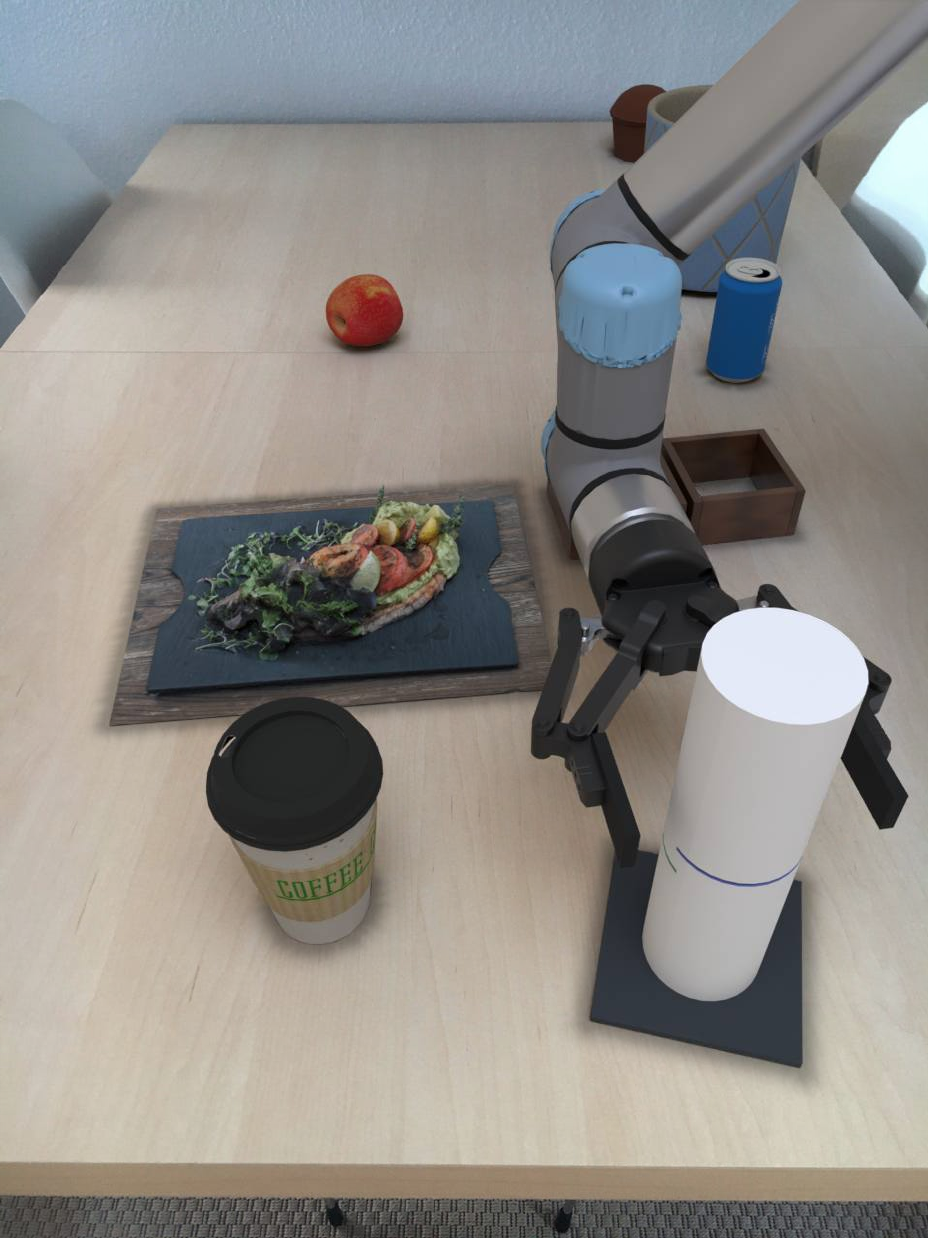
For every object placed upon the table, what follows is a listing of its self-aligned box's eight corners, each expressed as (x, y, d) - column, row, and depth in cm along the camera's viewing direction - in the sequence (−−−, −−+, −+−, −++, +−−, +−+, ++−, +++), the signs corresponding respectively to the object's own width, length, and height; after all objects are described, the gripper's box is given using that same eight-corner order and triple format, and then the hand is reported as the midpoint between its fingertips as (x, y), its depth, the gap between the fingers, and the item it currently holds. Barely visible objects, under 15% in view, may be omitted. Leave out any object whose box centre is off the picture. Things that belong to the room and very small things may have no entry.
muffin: (598, 144, 167) (603, 79, 160) (661, 139, 169) (668, 74, 162) (619, 169, 159) (624, 101, 152) (685, 163, 160) (693, 95, 153)
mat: (799, 885, 64) (801, 880, 64) (800, 1068, 56) (802, 1064, 55) (615, 850, 66) (616, 845, 66) (589, 1021, 58) (590, 1016, 58)
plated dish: (511, 480, 98) (512, 416, 92) (563, 692, 77) (568, 626, 72) (152, 512, 95) (132, 448, 90) (110, 739, 75) (82, 674, 70)
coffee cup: (378, 983, 60) (355, 842, 50) (224, 958, 61) (170, 816, 51) (412, 847, 67) (398, 698, 57) (273, 827, 68) (235, 678, 58)
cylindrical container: (702, 1025, 57) (793, 752, 40) (618, 934, 61) (667, 651, 44) (785, 956, 60) (903, 674, 43) (699, 873, 64) (775, 586, 47)
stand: (754, 471, 98) (764, 427, 94) (794, 534, 90) (806, 490, 87) (546, 493, 96) (548, 449, 92) (569, 559, 89) (572, 515, 85)
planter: (644, 305, 124) (663, 136, 110) (621, 243, 138) (635, 86, 124) (795, 300, 124) (833, 131, 111) (757, 238, 138) (786, 81, 124)
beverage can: (751, 391, 109) (772, 287, 100) (696, 376, 111) (712, 273, 103) (771, 366, 113) (793, 263, 104) (717, 352, 115) (734, 251, 107)
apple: (412, 347, 117) (408, 283, 112) (348, 366, 114) (341, 301, 109) (383, 321, 122) (377, 258, 117) (320, 338, 120) (312, 274, 114)
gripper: (812, 581, 68) (975, 840, 53) (454, 625, 66) (515, 909, 50) (839, 492, 63) (1027, 750, 48) (450, 536, 60) (517, 823, 45)
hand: (764, 833), depth 49 cm, fingers open, 13 cm apart
